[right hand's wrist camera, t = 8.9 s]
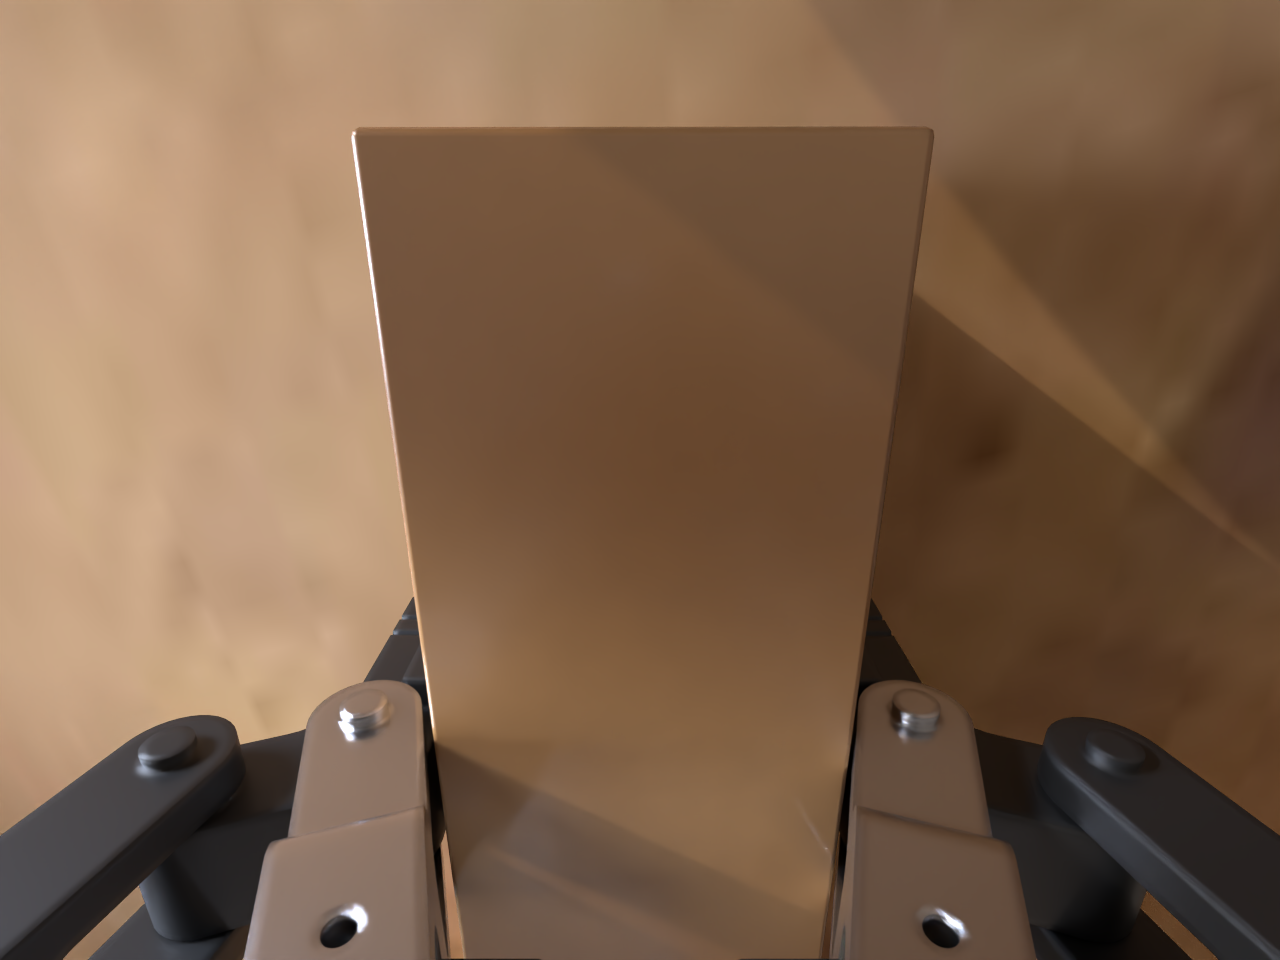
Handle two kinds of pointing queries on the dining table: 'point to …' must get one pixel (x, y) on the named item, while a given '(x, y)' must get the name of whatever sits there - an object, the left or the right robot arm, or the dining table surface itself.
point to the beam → (642, 509)
